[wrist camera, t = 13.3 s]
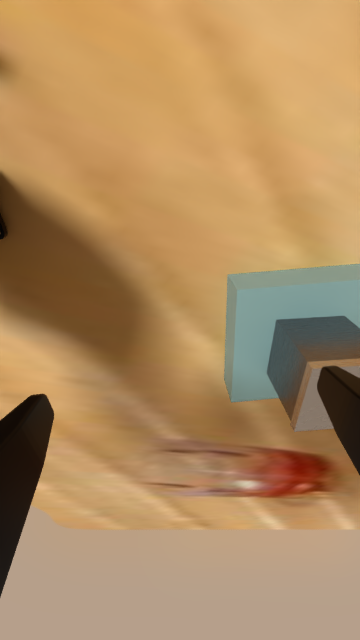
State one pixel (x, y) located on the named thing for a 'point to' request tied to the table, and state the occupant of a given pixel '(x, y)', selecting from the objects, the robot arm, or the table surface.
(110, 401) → the table surface
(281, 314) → the teal box
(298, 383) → the tin
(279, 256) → the table surface
